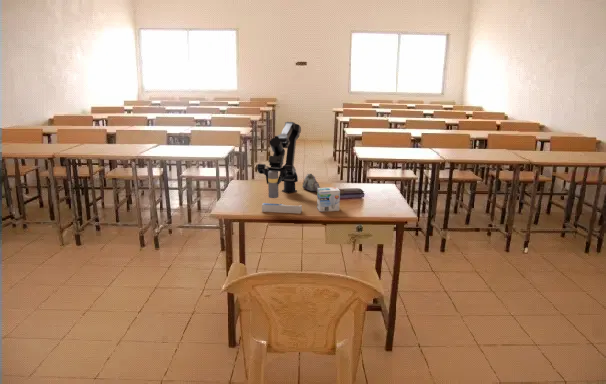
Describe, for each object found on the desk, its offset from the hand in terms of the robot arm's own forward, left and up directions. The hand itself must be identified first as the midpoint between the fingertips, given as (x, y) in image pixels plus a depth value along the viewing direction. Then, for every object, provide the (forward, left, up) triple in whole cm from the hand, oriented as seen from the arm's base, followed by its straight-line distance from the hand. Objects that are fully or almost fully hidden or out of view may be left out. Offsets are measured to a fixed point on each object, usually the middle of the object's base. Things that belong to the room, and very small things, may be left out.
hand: (272, 183), depth 229 cm
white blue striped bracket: (+5, +1, -13) cm, 14 cm away
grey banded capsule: (-1, +1, -7) cm, 7 cm away
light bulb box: (+18, +21, -14) cm, 31 cm away
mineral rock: (-13, +38, -14) cm, 43 cm away
